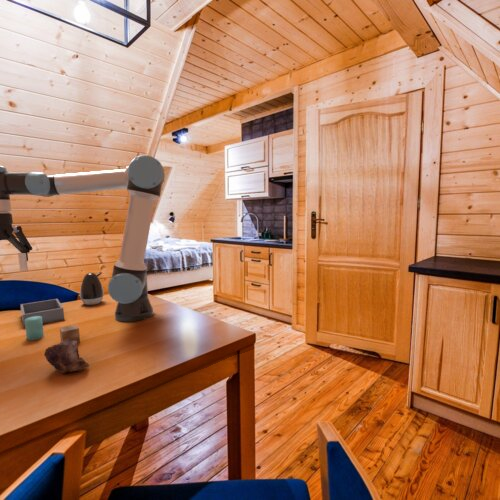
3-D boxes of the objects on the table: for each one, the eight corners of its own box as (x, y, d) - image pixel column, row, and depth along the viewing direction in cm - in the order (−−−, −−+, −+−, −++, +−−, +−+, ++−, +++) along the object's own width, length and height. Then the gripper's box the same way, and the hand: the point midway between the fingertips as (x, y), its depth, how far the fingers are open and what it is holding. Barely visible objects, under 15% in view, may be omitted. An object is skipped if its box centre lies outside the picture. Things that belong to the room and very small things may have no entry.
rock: (83, 361, 95) (44, 371, 89) (81, 333, 96) (42, 341, 89) (91, 371, 86) (47, 382, 80) (88, 339, 86) (45, 348, 80)
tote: (64, 319, 129) (63, 307, 128) (23, 327, 120) (22, 315, 120) (58, 309, 142) (57, 298, 142) (21, 315, 134) (20, 304, 133)
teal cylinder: (46, 334, 114) (44, 315, 113) (39, 339, 109) (37, 320, 108) (31, 335, 113) (29, 316, 112) (23, 340, 108) (21, 321, 107)
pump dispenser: (109, 302, 153) (107, 271, 151) (88, 308, 144) (86, 275, 142) (96, 299, 158) (94, 269, 156) (76, 304, 149) (73, 273, 147)
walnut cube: (77, 337, 110) (76, 324, 110) (80, 342, 106) (78, 328, 106) (60, 341, 107) (59, 327, 107) (63, 346, 103) (61, 331, 103)
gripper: (23, 212, 118) (30, 267, 121) (-55, 213, 94) (-44, 282, 97) (39, 212, 116) (45, 268, 119) (-36, 213, 92) (-26, 283, 95)
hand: (5, 274), depth 108 cm, fingers open, 13 cm apart
